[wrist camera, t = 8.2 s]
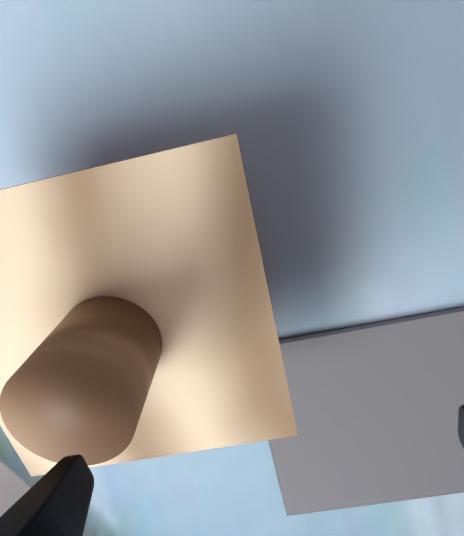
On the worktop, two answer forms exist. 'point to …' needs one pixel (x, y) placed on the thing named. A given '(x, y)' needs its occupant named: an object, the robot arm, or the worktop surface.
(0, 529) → the robot arm
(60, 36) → the worktop surface
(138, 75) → the worktop surface
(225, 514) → the worktop surface
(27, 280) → the lid
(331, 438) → the mat
